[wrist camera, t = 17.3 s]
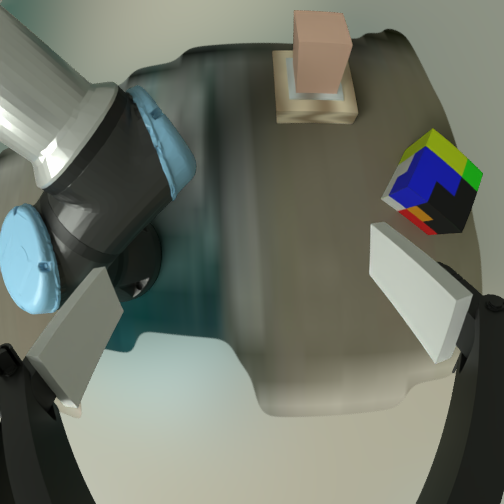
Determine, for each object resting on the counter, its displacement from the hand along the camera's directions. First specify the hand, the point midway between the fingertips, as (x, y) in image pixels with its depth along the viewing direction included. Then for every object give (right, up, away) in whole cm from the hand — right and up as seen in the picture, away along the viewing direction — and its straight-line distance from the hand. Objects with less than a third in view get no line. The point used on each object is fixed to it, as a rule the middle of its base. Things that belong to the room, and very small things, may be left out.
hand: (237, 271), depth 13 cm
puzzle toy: (+27, +11, +26) cm, 39 cm away
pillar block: (+10, +27, +22) cm, 36 cm away
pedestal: (+10, +27, +27) cm, 39 cm away
